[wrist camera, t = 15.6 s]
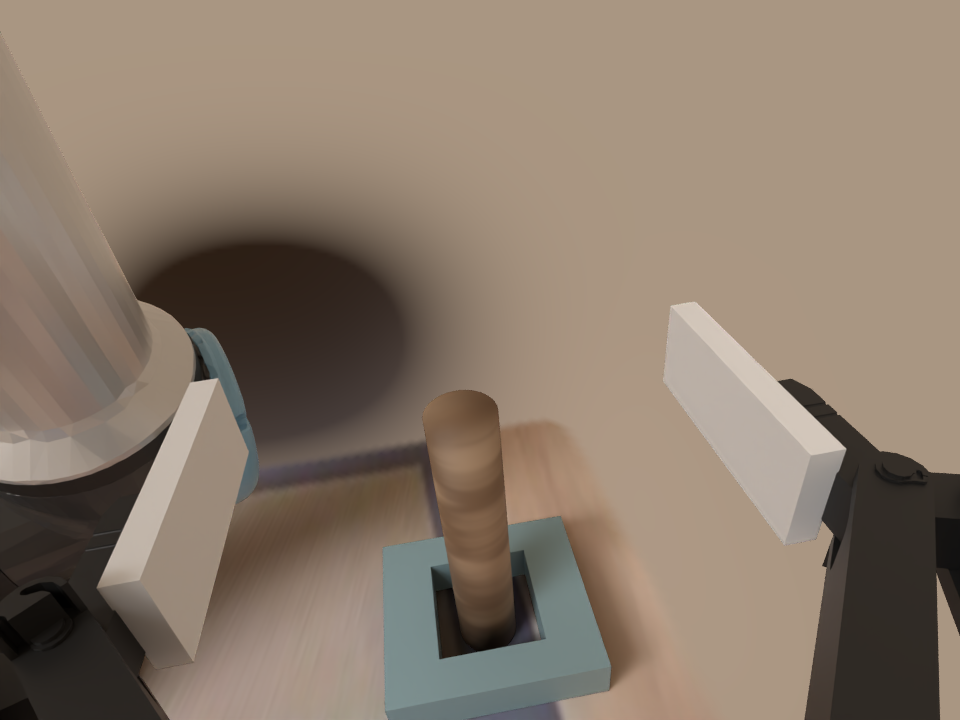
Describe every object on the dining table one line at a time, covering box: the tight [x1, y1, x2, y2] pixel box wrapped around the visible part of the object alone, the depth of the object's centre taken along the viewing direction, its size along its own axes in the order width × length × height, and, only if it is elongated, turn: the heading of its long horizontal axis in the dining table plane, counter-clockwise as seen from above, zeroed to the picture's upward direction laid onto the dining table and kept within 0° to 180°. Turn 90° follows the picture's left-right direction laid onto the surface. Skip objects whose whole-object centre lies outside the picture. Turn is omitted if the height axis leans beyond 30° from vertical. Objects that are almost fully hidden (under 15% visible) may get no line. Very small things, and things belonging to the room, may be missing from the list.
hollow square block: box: [383, 516, 611, 720], centre depth 41 cm, size 12×14×3 cm
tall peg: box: [422, 390, 516, 652], centre depth 36 cm, size 4×4×20 cm
